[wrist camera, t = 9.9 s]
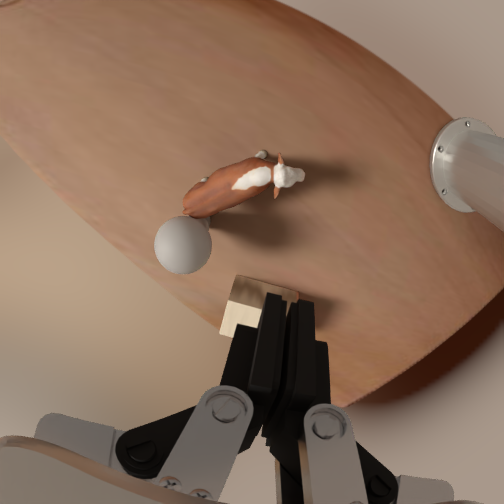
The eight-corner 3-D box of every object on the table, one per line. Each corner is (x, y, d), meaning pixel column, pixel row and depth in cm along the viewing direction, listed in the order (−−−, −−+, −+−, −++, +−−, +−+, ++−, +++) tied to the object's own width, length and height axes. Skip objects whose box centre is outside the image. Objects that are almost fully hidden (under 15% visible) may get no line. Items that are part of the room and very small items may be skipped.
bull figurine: (305, 172, 34) (310, 191, 27) (203, 207, 37) (182, 233, 30) (293, 137, 32) (294, 146, 25) (189, 176, 36) (164, 195, 29)
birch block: (298, 319, 36) (228, 300, 36) (283, 350, 39) (219, 333, 39) (298, 291, 42) (236, 274, 41) (285, 322, 44) (227, 306, 44)
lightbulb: (232, 232, 39) (213, 278, 29) (191, 244, 40) (161, 290, 30) (215, 188, 36) (187, 222, 26) (173, 203, 38) (135, 239, 28)
